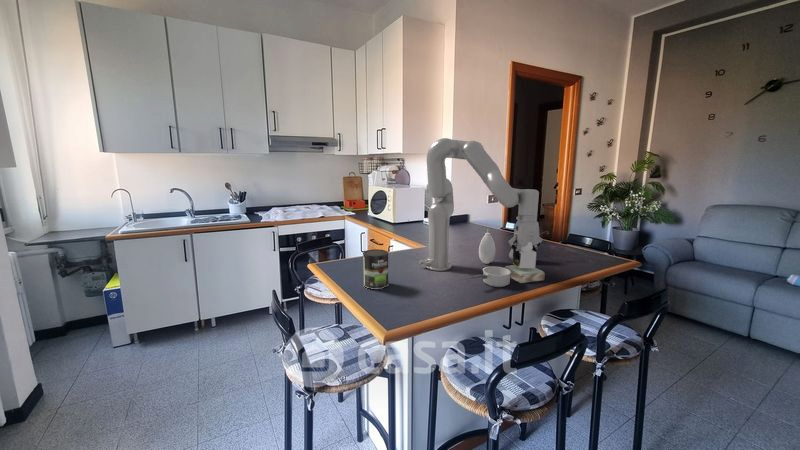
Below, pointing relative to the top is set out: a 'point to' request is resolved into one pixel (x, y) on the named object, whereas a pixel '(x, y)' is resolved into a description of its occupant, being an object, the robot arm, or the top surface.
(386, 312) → the top surface
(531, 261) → the medicine bottle
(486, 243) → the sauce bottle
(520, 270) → the plinth
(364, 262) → the coffee can
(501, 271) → the saucepan
